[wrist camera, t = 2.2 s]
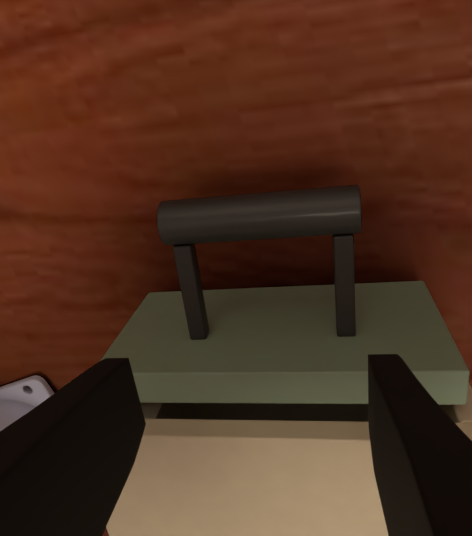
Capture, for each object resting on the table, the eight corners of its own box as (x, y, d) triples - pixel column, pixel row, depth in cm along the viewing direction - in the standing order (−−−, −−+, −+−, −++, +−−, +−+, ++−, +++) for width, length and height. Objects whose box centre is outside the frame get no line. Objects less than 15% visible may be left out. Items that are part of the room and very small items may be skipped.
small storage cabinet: (149, 315, 21) (73, 434, 15) (432, 306, 19) (500, 443, 12) (198, 526, 27) (159, 683, 20) (420, 540, 25) (460, 722, 18)
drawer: (123, 181, 18) (45, 230, 13) (429, 153, 16) (487, 198, 10) (196, 507, 25) (166, 625, 20) (413, 519, 23) (442, 653, 18)
